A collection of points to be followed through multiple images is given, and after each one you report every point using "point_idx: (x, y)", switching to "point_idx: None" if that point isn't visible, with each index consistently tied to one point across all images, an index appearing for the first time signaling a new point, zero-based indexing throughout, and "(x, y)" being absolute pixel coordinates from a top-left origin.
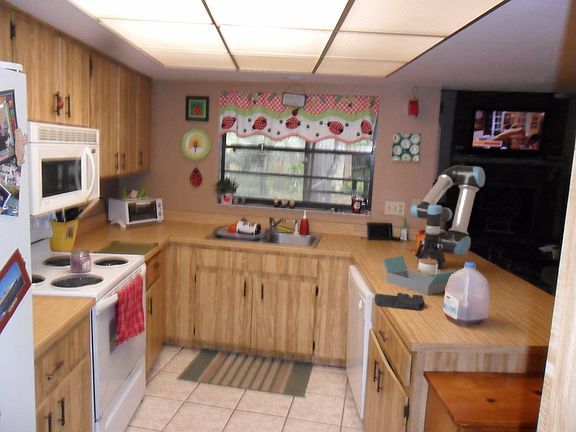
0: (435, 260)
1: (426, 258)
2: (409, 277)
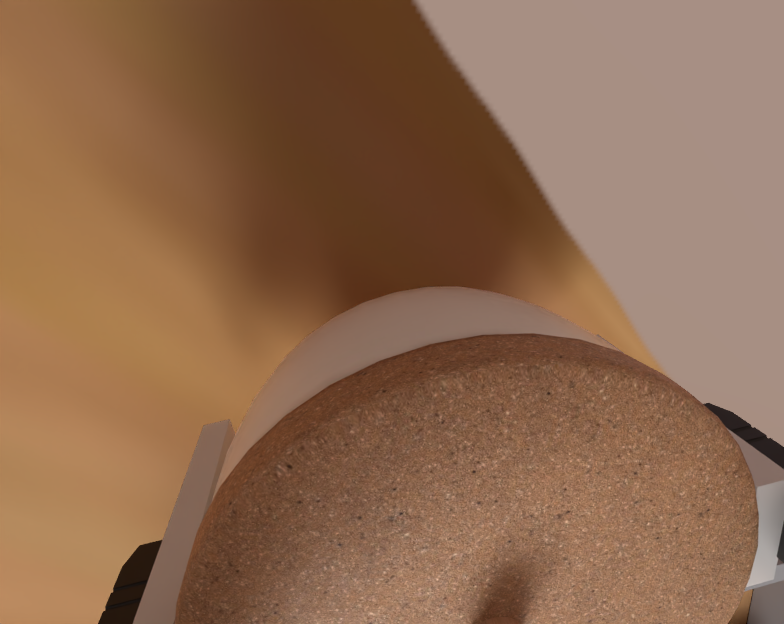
0: (589, 492)
1: (231, 597)
2: None
